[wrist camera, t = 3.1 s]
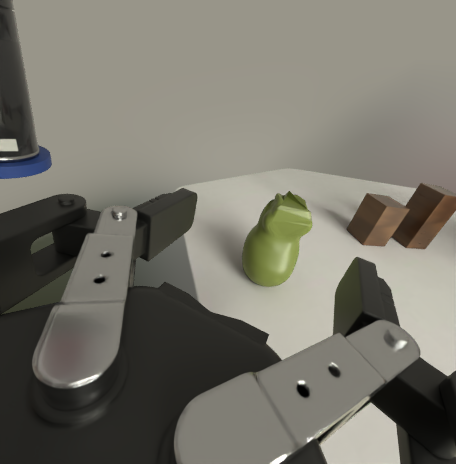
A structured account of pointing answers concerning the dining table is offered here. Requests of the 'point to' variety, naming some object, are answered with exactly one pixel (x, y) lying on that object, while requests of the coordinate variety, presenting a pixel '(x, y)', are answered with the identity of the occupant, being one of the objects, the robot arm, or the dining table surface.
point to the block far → (425, 216)
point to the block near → (376, 219)
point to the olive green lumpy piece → (276, 240)
